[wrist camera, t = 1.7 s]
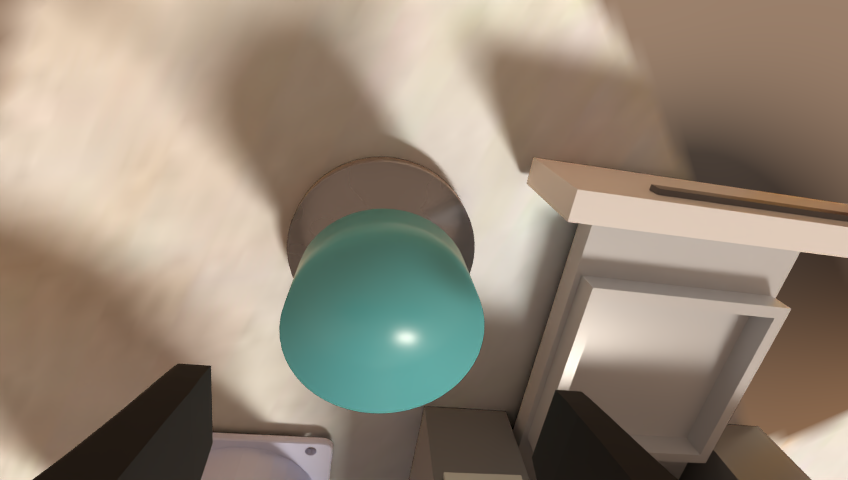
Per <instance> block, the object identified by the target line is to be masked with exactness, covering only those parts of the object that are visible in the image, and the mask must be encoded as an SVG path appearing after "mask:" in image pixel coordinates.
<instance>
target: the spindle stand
mask: <svg viewBox="0 0 848 480" xmlns="http://www.w3.org/2000/svg"><path fill="white" fill-rule="evenodd" d="M370 209H396V210H402V211H407V212H410V213H413V214H416V215H419V216H421V217H423V218H425V219H428V220H429V221H431V222H433V223H434V224H436V225H437V226H439V227H440V228H441V229H442V230H443V231H444V232H446V233H447V234H448V235H449V237H450V238H451V239H452V240H453V241H454V243H455V244H456V246H457V247H458V249H459V250H460V252H461V255H462V257H463V259H464V261H465V264H466V266H467V269H468V271H469V274H470V271H471V267H472V264H473V258H474V235H473V229H472V226H471V222H470V219H469V217H468V215H467V212H466V210H465V208H464V206H463V204H462V203H461V201H460V199H459V198H458V196H457V194H456V193H455V192H454V191H453V189H452V188H451V187H450V186H449V185H448V184H447V183H446V182H445V181H444V180H443V179H442V178H441V177H439V176H438V175H437V174H435V173H434V172H432V171H431V170H429V169H427V168H425V167H423V166H421V165H419V164H416V163H414V162H411V161H408V160H403V159H399V158H392V157H369V158H364V159H358V160H355V161H352V162H348V163H345V164H343V165H341V166H339V167H337V168H335V169H333V170H331V171H330V172H328V173H327V174H325V175H324V176H323V177H321V178H320V179H319V180H318V181H317V182H316V183H315V184H314V185H313V186H312V187H311V188H310V189H309V190H308V192H307V193H306V194H305V196H304V198H303V199H302V201H301V202H300V204H299V206H298V208H297V210H296V212H295V215H294V217H293V219H292V222H291V225H290V229H289V233H288V241H287V255H288V261H289V266H290V269H291V273H292V276H293V278H294V276H295V273H296V271H297V268H298V265H299V262H300V260H301V258H302V256H303V254H304V251H305V250H306V248H307V247H308V245H309V244H310V242H311V241H312V240H313V239H314V238H315V237H316V236H317V235H318V234H319V233H320V232H321V231H322V230H323V229H325V228H326V227H327V226H328V225H330V224H332V223H333V222H335V221H336V220H338V219H340V218H343V217H345V216H347V215H350V214H353V213H356V212H359V211H364V210H370Z"/></svg>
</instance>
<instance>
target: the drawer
mask: <svg viewBox="0 0 848 480" xmlns="http://www.w3.org/2000/svg"><path fill="white" fill-rule="evenodd" d="M527 184H528V185H529V186H530V187H531V188H532V189H533V190H534V191H535V192H536V193H537V194H538V195H539V196H541V197H542V198H543V199H544V200H545V201H546V202H547V203H548V204H549V205H550V206H551V207H552V208H553V209H554V210H555V211H557V212H558V213H559V214H560V215H561V216H562V217H563V218H564V219H565V220H566V221H567V222H572V223H579V224H578V227H577V230H576V233H575V236H574V239H573V243H572V246H571V249H570V252H569V255H568V258H567V262H566V265H565V268H564V271H563V274H562V277H561V280H560V284H559V287H558V290H557V293H556V296H555V299H554V303H553V306H552V309H551V312H550V315H549V318H548V322H547V325H546V328H545V331H544V334H543V337H542V340H541V344H540V347H539V350H538V353H537V356H536V359H535V363H534V366H533V369H532V372H531V375H530V378H529V381H528V385H527V388H526V391H525V394H524V397H523V400H522V404H521V407H520V410H519V413H518V416H517V419H516V422H515V426H514V429H513V434H514V437H515V439H516V442H517V445H518V448H519V451H520V454H521V457H522V460H523V463H524V465H525V468H526V471H527V474H528V477H529V480H537V479H536V475H535V470H534V466H533V461H532V455H533V452H534V450H535V447H536V444H537V441H538V438H539V435H540V432H541V430H542V427H543V424H544V421H545V418H546V415H547V413H548V410H549V407H550V404H551V401H552V398H553V395H554V393H555V390H568V391H581V392H583V393H584V394H585V395H586V396H587V397H589V398H590V399H591V400H592V401H593V402H594V403H595V404H597V405H598V406H599V407H600V408H601V409H602V410H603V411H604V412H605V413H606V414H607V415H608V416H610V417H611V418H612V419H613V420H614V421H615V422H616V423H617V424H618V425H619V426H620V427H621V428H622V429H623V430H625V431H626V432H627V433H628V434H629V435H630V436H631V437H632V438H633V439H634V440H635V441H636V442H637V443H638V444H640V445H641V446H642V447H643V448H644V449H645V450H646V451H647V452H648V453H649V454H650V455H651V456H652V457H654V458H655V459H656V460H657V461H658V462H659V463H660V464H661V465H662V466H663V467H665V468H666V469H667V470H668V471H669V472H670V473H671V474H672V475H673V476H675V477H676V478H677V479H678V480H679V478H680V476H681V474H682V472H683V471H684V469H685V467H686V465H687V463H688V462H690V463H706V462H707V460H708V458H709V456H710V454H711V453H712V451H713V449H714V447H715V445H716V444H717V442H718V440H719V438H720V436H721V434H722V433H723V431H724V429H725V427H726V425H727V424H728V422H729V420H730V418H731V416H732V415H733V413H734V411H735V409H736V407H737V406H738V404H739V402H740V400H741V398H742V397H743V395H744V393H745V391H746V389H747V388H748V386H749V384H750V382H751V380H752V378H753V377H754V375H755V373H756V371H757V370H758V368H759V366H760V364H761V362H762V361H763V359H764V357H765V355H766V353H767V352H768V350H769V348H770V346H771V344H772V343H773V341H774V339H775V337H776V335H777V334H778V332H779V330H780V328H781V326H782V324H783V323H784V321H785V319H786V317H787V315H788V314H789V312H790V310H791V308H789V307H788V306H786V305H785V304H783V303H782V302H780V301H778V300H777V299H775V298H776V296H777V294H778V292H779V290H780V288H781V287H782V285H783V283H784V281H785V279H786V277H787V276H788V273H789V272H790V270H791V268H792V266H793V264H794V262H795V261H796V259H797V257H798V255H799V253H800V252H807V253H815V254H823V255H831V256H839V257H847V258H848V204H843V203H837V202H830V201H823V200H817V199H809V198H803V197H797V196H790V195H783V194H776V193H769V192H763V191H756V190H749V189H742V188H736V187H729V186H723V185H716V184H709V183H702V182H696V181H689V180H682V179H676V178H669V177H662V176H655V175H649V174H642V173H635V172H628V171H622V170H615V169H608V168H602V167H595V166H588V165H581V164H575V163H568V162H561V161H555V160H548V159H541V158H534V157H533V161H532V165H531V169H530V173H529V176H528V180H527Z"/></svg>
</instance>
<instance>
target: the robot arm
mask: <svg viewBox="0 0 848 480" xmlns="http://www.w3.org/2000/svg"><path fill="white" fill-rule="evenodd" d="M308 447H313V448H312V449H311V448H308ZM332 453H333V443H332V441H331V440H329V439H327V438H318V437H297V436H276V435H255V434H234V433H213V432H212V394H211V366H204V365H189V364H177V365H176V366H174V367H173V368H172V369H170V370H169V371H168V372H167V373H165V374H164V375H163V376H162V377H161V378H159V379H158V380H157V381H156V382H155V383H154V384H152V385H151V386H150V387H149V388H148V389H146V390H145V391H144V392H143V393H142V394H140V395H139V396H138V397H137V398H136V399H135V400H133V401H132V402H131V403H130V404H129V405H127V406H126V407H125V408H124V409H122V410H121V411H120V412H119V413H118V414H116V415H115V416H114V417H113V418H112V419H110V420H109V421H108V422H107V423H105V424H104V425H103V426H102V427H100V428H99V429H98V430H97V431H95V432H94V433H93V434H92V435H90V436H89V437H88V438H87V439H85V440H84V441H83V442H82V443H80V444H79V445H78V446H77V447H75V448H74V449H73V450H71V451H70V452H69V453H68V454H66V455H65V456H64V457H62V458H61V459H60V460H58V461H57V462H56V463H54V464H53V465H52V466H50V467H49V468H48V469H46V470H45V471H44V472H42V473H41V474H39V475H38V476H37V477H35V478H34V479H33V480H329V479H330V470H331V462H332ZM532 461H533V466H534V470H535V475H536V479H537V480H678V479H677V478H676V477H675V476H673V475H672V474H671V473H670V472H669V471H668V470H667V469H666V468H665V467H663V466H662V465H661V464H660V463H659V462H658V461H657V460H656V459H655V458H654V457H652V456H651V455H650V454H649V453H648V452H647V451H646V450H645V449H644V448H643V447H642V446H641V445H640V444H638V443H637V442H636V441H635V440H634V439H633V438H632V437H631V436H630V435H629V434H628V433H627V432H626V431H625V430H623V429H622V428H621V427H620V426H619V425H618V424H617V423H616V422H615V421H614V420H613V419H612V418H611V417H610V416H608V415H607V414H606V413H605V412H604V411H603V410H602V409H601V408H600V407H599V406H598V405H597V404H595V403H594V402H593V401H592V400H591V399H590V398H589V397H587V396H586V395H585V394H584V393H583V392H581V391H568V390H555V393H554V395H553V398H552V401H551V404H550V407H549V410H548V413H547V415H546V418H545V421H544V424H543V427H542V430H541V432H540V435H539V438H538V441H537V444H536V447H535V450H534V452H533V455H532Z"/></svg>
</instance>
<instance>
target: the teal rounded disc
mask: <svg viewBox="0 0 848 480" xmlns="http://www.w3.org/2000/svg"><path fill="white" fill-rule="evenodd" d="M279 328H280V342H281V347H282V351H283V354H284V356H285V359H286V361H287V363H288V365H289V367H290V369H291V370H292V372H293V373H294V374H295V376H296V377H297V378H298V379H299V380H300V382H301V383H302V384H303V385H304V386H305V387H306V388H308V389H309V390H310V391H312V392H313V393H314V394H315V395H317V396H319V397H320V398H322V399H324V400H325V401H328V402H330V403H332V404H334V405H336V406H339V407H342V408H345V409H349V410H353V411H358V412H366V413H393V412H400V411H405V410H410V409H413V408H416V407H420V406H422V405H425V404H427V403H429V402H432V401H433V400H435V399H437V398H439V397H441V396H442V395H444V394H445V393H447V392H448V391H449V390H451V389H452V388H453V387H454V386H456V385H457V384H458V383H459V382H460V381H461V380H462V379H463V378H464V376H465V375H466V374H467V373H468V372H469V370H470V369H471V367H472V366H473V364H474V362H475V360H476V358H477V356H478V354H479V352H480V349H481V346H482V342H483V336H484V315H483V309H482V306H481V302H480V299H479V297H478V294H477V292H476V289H475V287H474V284H473V282H472V279H471V276H470V274H469V271H468V269H467V266H466V264H465V261H464V259H463V257H462V255H461V252H460V250H459V249H458V247H457V246H456V244H455V243H454V241H453V240H452V239H451V238H450V237H449V235H448V234H447V233H446V232H444V231H443V230H442V229H441V228H440V227H439V226H437V225H436V224H434V223H433V222H431V221H429V220H428V219H425V218H423V217H421V216H419V215H416V214H413V213H410V212H407V211H402V210H396V209H370V210H364V211H359V212H356V213H353V214H350V215H347V216H345V217H343V218H340V219H338V220H336V221H335V222H333V223H332V224H330V225H328V226H327V227H326V228H325V229H323V230H322V231H321V232H320V233H319V234H318V235H317V236H316V237H315V238H314V239H313V240H312V241H311V242H310V244H309V245H308V247H307V248H306V250H305V251H304V254H303V256H302V258H301V260H300V262H299V265H298V268H297V271H296V273H295V276H294V279H293V282H292V284H291V287H290V290H289V293H288V295H287V298H286V301H285V303H284V307H283V310H282V314H281V319H280V327H279Z"/></svg>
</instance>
